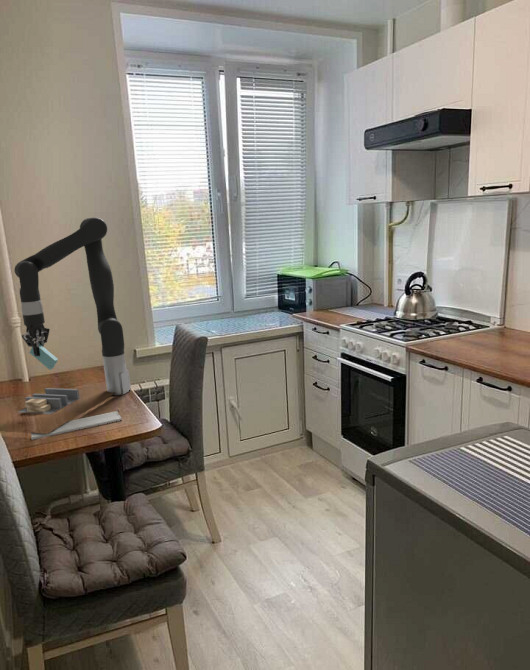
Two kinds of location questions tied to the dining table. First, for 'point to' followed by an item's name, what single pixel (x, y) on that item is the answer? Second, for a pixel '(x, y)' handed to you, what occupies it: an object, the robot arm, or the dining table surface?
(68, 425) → the baseboard molding
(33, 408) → the block
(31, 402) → the offcut top
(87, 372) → the dining table surface
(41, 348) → the teal slat
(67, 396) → the rack
